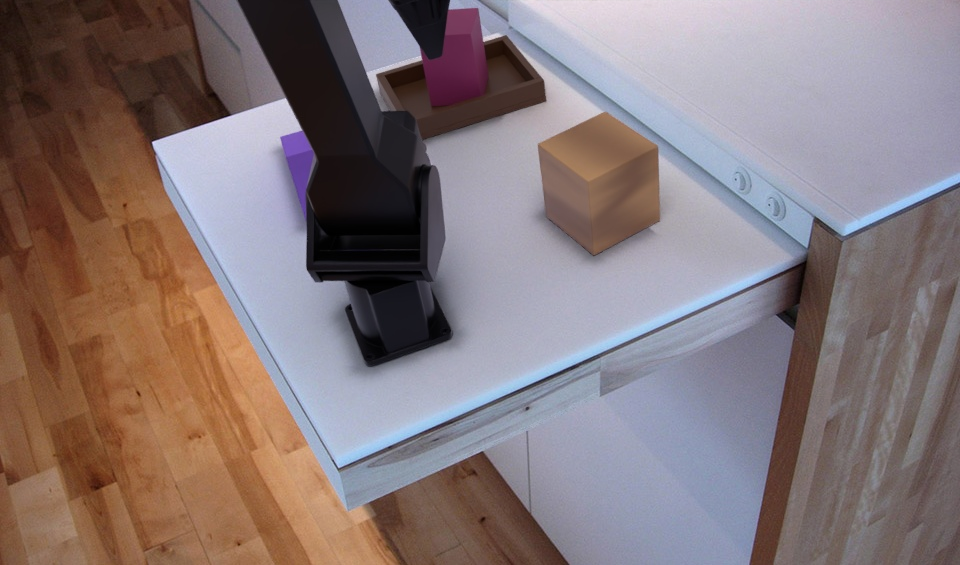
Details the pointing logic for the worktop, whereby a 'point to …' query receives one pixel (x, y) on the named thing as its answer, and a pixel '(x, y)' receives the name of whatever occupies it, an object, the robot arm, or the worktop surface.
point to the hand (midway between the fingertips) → (417, 32)
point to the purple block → (298, 162)
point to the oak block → (600, 182)
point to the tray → (504, 93)
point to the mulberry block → (458, 61)
